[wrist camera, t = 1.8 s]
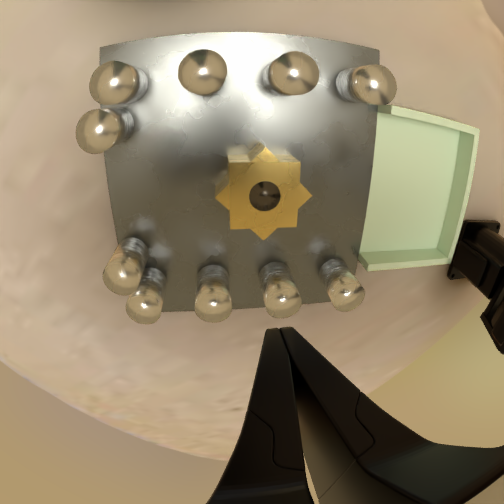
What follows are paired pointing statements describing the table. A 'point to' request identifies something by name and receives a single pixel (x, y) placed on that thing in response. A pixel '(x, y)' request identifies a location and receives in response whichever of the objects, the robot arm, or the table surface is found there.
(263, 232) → the gear
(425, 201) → the tray
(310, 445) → the robot arm
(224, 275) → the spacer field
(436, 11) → the table surface
